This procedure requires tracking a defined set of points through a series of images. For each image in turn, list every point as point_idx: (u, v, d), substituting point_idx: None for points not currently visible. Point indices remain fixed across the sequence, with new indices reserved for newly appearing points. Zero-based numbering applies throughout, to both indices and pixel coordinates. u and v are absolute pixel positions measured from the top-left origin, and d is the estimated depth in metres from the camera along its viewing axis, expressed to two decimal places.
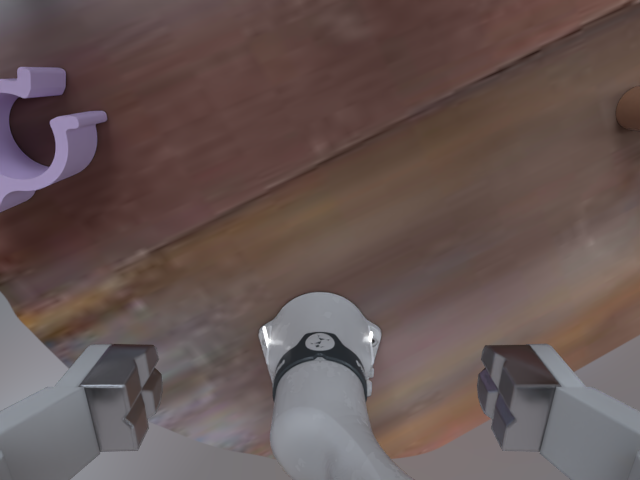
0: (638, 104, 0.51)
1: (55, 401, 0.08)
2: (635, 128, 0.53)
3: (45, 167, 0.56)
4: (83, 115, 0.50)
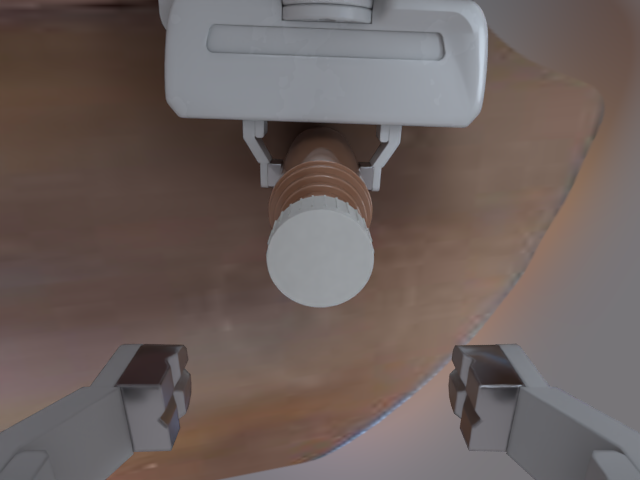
0: (291, 147, 0.32)
1: (92, 401, 0.08)
2: None
3: None
4: None
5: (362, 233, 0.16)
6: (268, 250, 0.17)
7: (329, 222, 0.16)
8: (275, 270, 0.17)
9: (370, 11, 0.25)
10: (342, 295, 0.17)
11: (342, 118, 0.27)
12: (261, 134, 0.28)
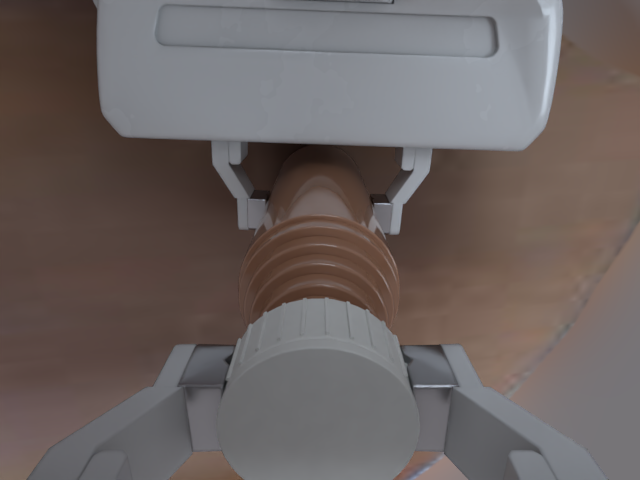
0: (280, 173, 0.24)
1: (158, 401, 0.08)
2: None
3: None
4: None
5: (400, 388, 0.08)
6: (219, 416, 0.09)
7: (336, 369, 0.08)
8: (233, 448, 0.09)
9: None
10: None
11: (350, 138, 0.20)
12: (237, 159, 0.20)
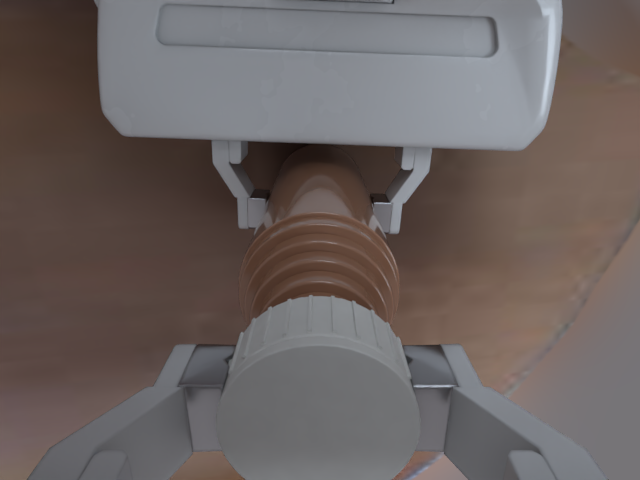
0: (280, 172, 0.24)
1: (159, 401, 0.08)
2: None
3: None
4: None
5: (279, 356, 0.08)
6: None
7: (244, 403, 0.09)
8: None
9: None
10: (402, 411, 0.09)
11: (350, 138, 0.20)
12: (238, 159, 0.21)
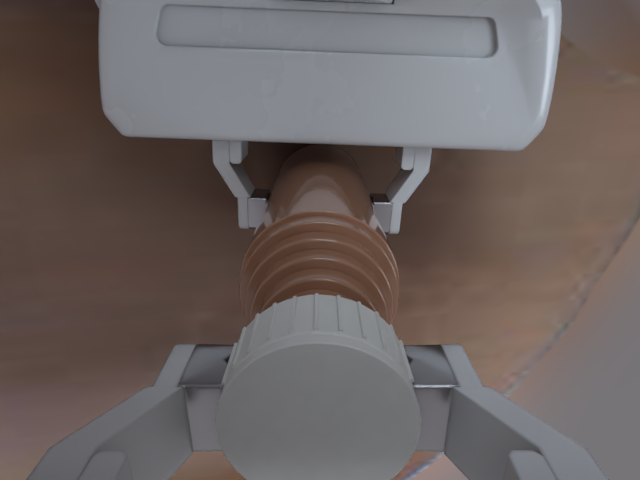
0: (281, 172, 0.24)
1: (158, 401, 0.08)
2: None
3: None
4: None
5: (223, 440, 0.09)
6: (392, 476, 0.09)
7: (270, 475, 0.09)
8: (402, 446, 0.09)
9: None
10: (312, 357, 0.08)
11: (350, 138, 0.20)
12: (238, 159, 0.21)
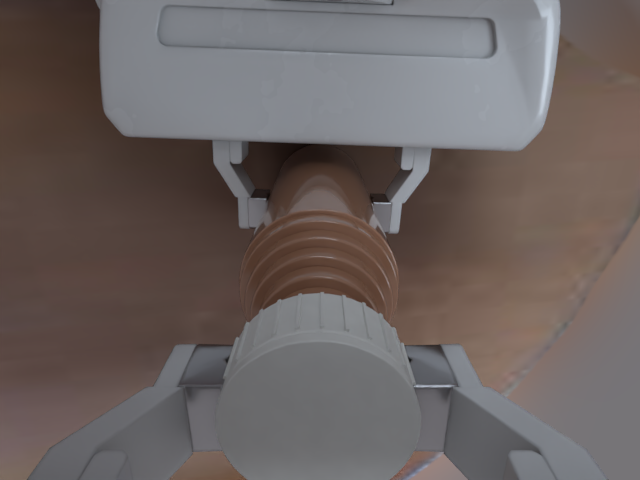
0: (281, 172, 0.24)
1: (159, 401, 0.08)
2: None
3: None
4: None
5: None
6: (402, 378, 0.08)
7: (363, 475, 0.09)
8: (361, 362, 0.08)
9: None
10: (231, 416, 0.09)
11: (350, 138, 0.20)
12: (238, 159, 0.21)
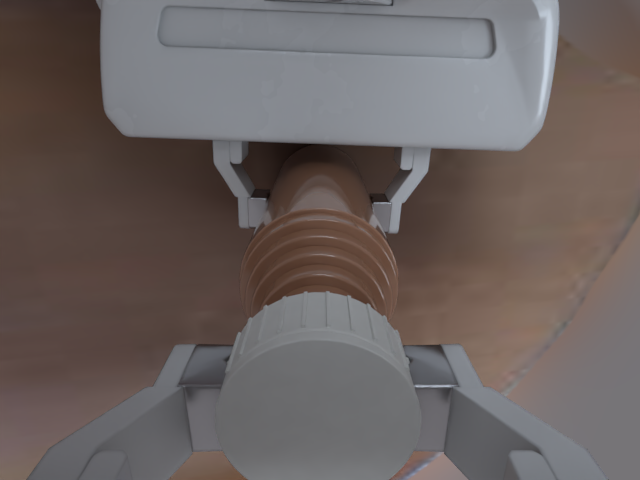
0: (281, 172, 0.24)
1: (159, 401, 0.08)
2: None
3: None
4: None
5: (408, 451, 0.09)
6: (273, 348, 0.08)
7: (393, 401, 0.08)
8: (246, 379, 0.08)
9: None
10: None
11: (349, 138, 0.20)
12: (238, 159, 0.21)
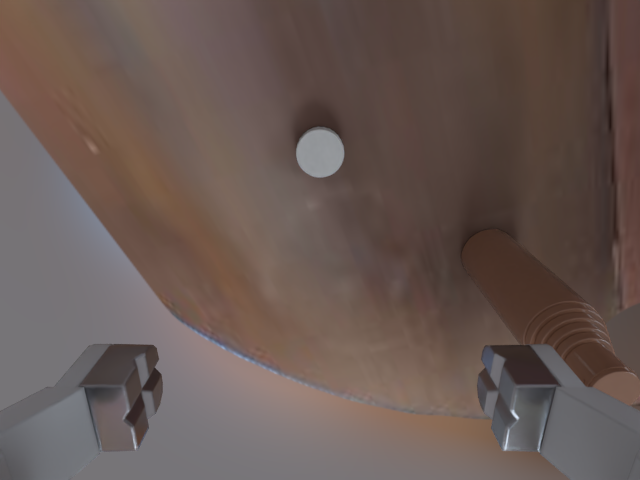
0: (520, 245, 0.39)
1: (55, 401, 0.08)
2: (482, 246, 0.40)
3: None
4: None
5: (332, 134, 0.37)
6: (297, 158, 0.38)
7: (316, 135, 0.37)
8: (303, 166, 0.38)
9: None
10: (336, 166, 0.38)
11: None
12: None
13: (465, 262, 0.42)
